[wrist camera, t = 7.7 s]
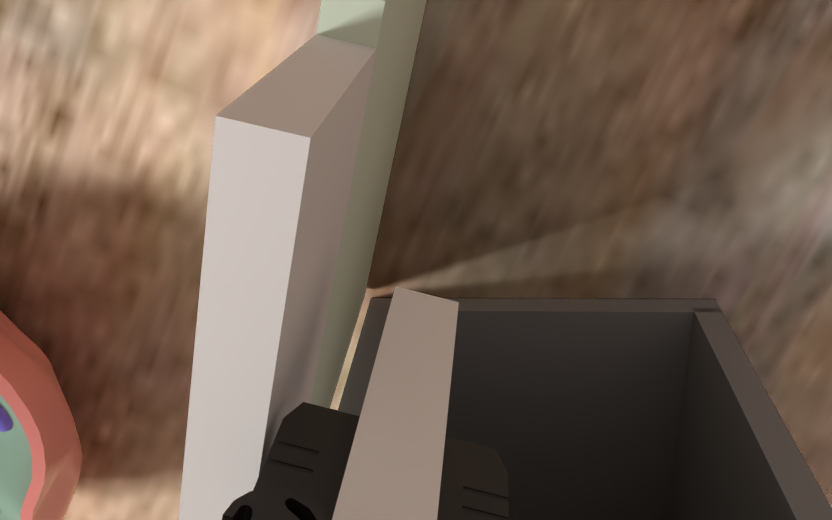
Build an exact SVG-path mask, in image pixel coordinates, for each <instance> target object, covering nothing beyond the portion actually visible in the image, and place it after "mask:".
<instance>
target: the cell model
mask: <svg viewBox="0 0 832 520" xmlns="http://www.w3.org/2000/svg"><path fill="white" fill-rule="evenodd" d="M81 467H82V448H81V442H80V438H79V435H78V432H77V429H76V425H75V422H74V419H73V415H72V413H71V410H70V408H69V406H68V403H67V401H66V398H65V396H64V394H63V391H62V389H61V386H60V384H59V381H58V379H57V376H56V374H55V371H54V369H53V367H52V365H51V363H50V361H49V359H48V358H47V356H46V354H45V353H44V352H43V351H42V350H41V349H40V348H39V347H38V346H37V345H36V344H35V343H34V342H33V341H32V340H31V339H30V338H28V337H27V336H26V335H25V334H24V333H23V332H22V331H21V330H20V329H19V328H18V327H17V326H16V325H15V324H14V323H13V322H12V321H11V320H10V319H9V318H8V317H7V316H6V315H5V314H4V313H3V312H2V311H0V520H64V518H65V516H66V513H67V510H68V508H69V505H70V503H71V500H72V498H73V495H74V493H75V489H76V486H77V483H78V479H79V475H80V471H81Z"/></svg>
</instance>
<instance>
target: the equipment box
mask: <svg viewBox="0 0 832 520" xmlns="http://www.w3.org/2000/svg"><path fill="white" fill-rule="evenodd" d="M444 299H448V300H451V301H455V302H459V305H458V315H457V325H456V335H455V345H454V355H453V365H452V375H451V385H450V395H449V405H448V415H447V425H446V435H445V436H447V437H450V438H454V439H458V440H462V441H466V442H470V443H474V444H478V445H482V446H486V447H489V448H493V449H496V450H497V452H498V454H499V456H500V458H501V460H502V462H503V464H504V466H505V468H506V470H507V472H508V502H509V518H508V520H832V508H831V506H830V504H829V503H828V501H827V499H826V497H825V495H824V494H823V492H822V490H821V488H820V487H819V485H818V483H817V481H816V479H815V478H814V476H813V474H812V472H811V470H810V469H809V467H808V465H807V463H806V461H805V460H804V458H803V456H802V454H801V452H800V451H799V449H798V447H797V445H796V443H795V442H794V440H793V438H792V436H791V435H790V433H789V431H788V429H787V427H786V426H785V424H784V422H783V420H782V418H781V417H780V415H779V413H778V411H777V409H776V408H775V406H774V404H773V402H772V400H771V399H770V397H769V395H768V393H767V391H766V390H765V388H764V386H763V384H762V383H761V381H760V379H759V377H758V375H757V374H756V372H755V370H754V368H753V366H752V365H751V363H750V361H749V359H748V357H747V356H746V354H745V352H744V350H743V348H742V347H741V345H740V343H739V341H738V339H737V338H736V336H735V334H734V332H733V331H732V329H731V327H730V325H729V323H728V322H727V320H726V318H725V316H724V314H723V313H722V311H721V309H720V307H719V305H718V304H717V302H716V300H715V299H493V298H444ZM391 300H392V298H371V300H370V303H369V307H368V310H367V313H366V317H365V320H364V324H363V327H362V330H361V334H360V337H359V341H358V344H357V347H356V351H355V354H354V358H353V361H352V364H351V368H350V371H349V375H348V378H347V381H346V385H345V388H344V392H343V395H342V398H341V402H340V405H339V409H338V411H341V412H345V413H349V414H353V415H357V416H360V414H361V411H362V407H363V403H364V400H365V396H366V392H367V389H368V385H369V381H370V378H371V374H372V370H373V367H374V363H375V359H376V356H377V352H378V348H379V345H380V341H381V337H382V333H383V330H384V326H385V322H386V319H387V315H388V311H389V308H390V304H391Z"/></svg>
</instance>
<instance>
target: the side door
mask: <svg viewBox="0 0 832 520" xmlns="http://www.w3.org/2000/svg"><path fill="white" fill-rule="evenodd" d="M426 1H427V0H322V2H321V8H320V15H319V22H318V29H317V34H316V35H315V36H314V37H313V38H311V39H310V40H309V41H308V42H307V43H305V44H304V45H303V46H302V47H300V48H299V49H298V50H297V51H295V52H294V53H293V54H292V55H290V56H289V57H288V58H287V59H285V60H284V61H283V62H282V63H280V64H279V65H278V66H277V67H276V68H274V69H273V70H272V71H271V72H269V73H268V74H267V75H266V76H264V77H263V78H262V79H261V80H259V81H258V82H257V83H256V84H254V85H253V86H252V87H251V88H249V89H248V90H247V91H246V92H244V93H243V94H242V95H241V96H240V97H238V98H237V99H236V100H235V101H233V102H232V103H231V104H230V105H228V106H227V107H226V108H225V109H223V110H222V111H221V112H220V113H218V114H217V115H216V118H215V129H214V139H213V150H212V161H211V172H210V183H209V194H208V204H207V215H206V226H205V237H204V248H203V259H202V269H201V280H200V291H199V302H198V313H197V324H196V334H195V345H194V356H193V367H192V378H191V389H190V399H189V410H188V421H187V432H186V443H185V454H184V464H183V475H182V486H181V497H180V508H179V519H178V520H222V516H223V514H224V512H225V511H226V510H227V508H228V507H229V506H230V505H231V503H232V502H233V501H234V500H236V499H237V498H239V497H241V496H243V495H244V494H246V493H248V492H250V491H253V489H254V487H255V484H256V482H257V480H258V477H259V475H260V472H261V470H262V468H263V465H264V463H265V462H266V458H267V456H268V453H269V451H270V449H271V446H272V444H273V443H274V439H275V437H276V434H277V432H278V430H279V427H280V425H281V422H282V420H283V418H284V417H285V416H286V415H288V414H289V413H290V412H291V411H293V410H294V409H295V408H296V407H298V406H299V405H300V404H301V403H303V402H306V403H310V404H314V405H318V406H322V407H325V408H329V409H330V405H331V402H332V399H333V396H334V393H335V389H336V386H337V383H338V380H339V377H340V373H341V370H342V367H343V364H344V361H345V357H346V354H347V351H348V348H349V344H350V341H351V338H352V335H353V332H354V328H355V325H356V322H357V319H358V316H359V312H360V309H361V306H362V303H363V300H364V296H365V292H366V288H367V283H368V278H369V273H370V269H371V264H372V259H373V254H374V249H375V245H376V240H377V235H378V230H379V226H380V221H381V216H382V211H383V207H384V202H385V197H386V192H387V187H388V183H389V178H390V173H391V168H392V164H393V159H394V154H395V149H396V144H397V140H398V135H399V130H400V125H401V121H402V116H403V111H404V106H405V101H406V97H407V92H408V87H409V82H410V78H411V73H412V68H413V63H414V59H415V54H416V49H417V44H418V39H419V35H420V30H421V25H422V20H423V16H424V11H425V6H426Z"/></svg>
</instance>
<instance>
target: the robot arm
mask: <svg viewBox="0 0 832 520" xmlns="http://www.w3.org/2000/svg"><path fill="white" fill-rule="evenodd" d="M458 305H459V302H455V301H451V300H448V299H444V298H440V297H436V296H432V295H428V294H424V293H420V292H417V291H413V290H409V289H405V288H401V287H397V286H395V289H394V293H393V297H392V300H391V304H390V308H389V311H388V315H387V319H386V322H385V326H384V330H383V333H382V337H381V341H380V345H379V348H378V352H377V356H376V359H375V363H374V367H373V370H372V374H371V378H370V381H369V385H368V389H367V392H366V396H365V400H364V403H363V407H362V411H361V414H360V416H357V415H353V414H349V413H345V412H341V411H337V410H333V409H329V408H325V407H322V406H318V405H314V404H310V403H306V402H303V403H301V404H300V405H299V406H298V407H296V408H295V409H294V410H293V411H291V412H290V413H289V414H288V415H286V416H285V417H284V418H283V420H282V422H281V425H280V427H279V430H278V432H277V434H276V437H275V439H274V443H273V444H272V446H271V449H270V451H269V453H268V456H267V458H266V462H265V463H264V465H263V468H262V470H261V472H260V475H259V477H258V480H257V482H256V484H255V487H254V489H253V491H250V492H248V493H246V494H244V495H243V496H241V497H239V498H237V499H236V500H234V501H233V502H232V503H231V505H230V506H229V507H228V508H227V510H226V511H225V512H224V514H223V516H222V520H508V518H509V502H508V472H507V470H506V468H505V466H504V464H503V462H502V460H501V458H500V456H499V454H498V452H497V450H496V449H493V448H489V447H486V446H482V445H478V444H474V443H470V442H466V441H462V440H458V439H454V438H450V437H447V436H445V435H446V425H447V415H448V405H449V395H450V385H451V375H452V365H453V355H454V345H455V335H456V325H457V315H458Z"/></svg>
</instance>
